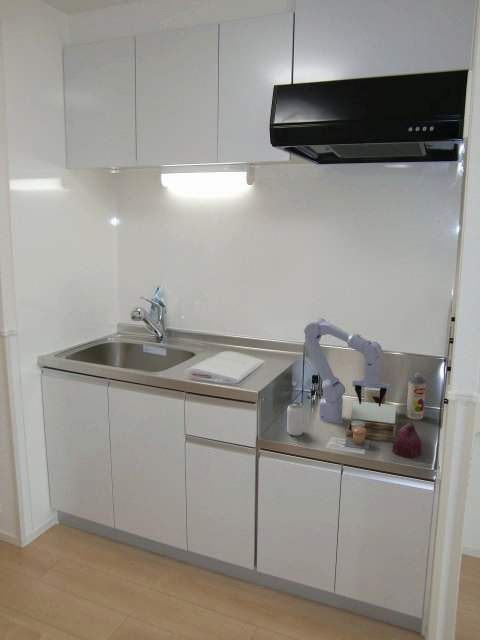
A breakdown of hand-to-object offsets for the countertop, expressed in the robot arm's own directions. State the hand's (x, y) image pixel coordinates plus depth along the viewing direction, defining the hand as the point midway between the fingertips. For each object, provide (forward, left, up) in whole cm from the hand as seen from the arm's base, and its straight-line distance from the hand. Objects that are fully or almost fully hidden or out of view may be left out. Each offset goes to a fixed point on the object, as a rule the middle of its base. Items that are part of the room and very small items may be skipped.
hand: (369, 404), depth 203 cm
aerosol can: (+18, +16, -11) cm, 26 cm away
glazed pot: (-4, -7, -10) cm, 13 cm away
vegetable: (+15, -17, -11) cm, 25 cm away
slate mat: (-3, -16, -10) cm, 19 cm away
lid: (+1, +5, -5) cm, 8 cm away
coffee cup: (+1, +17, -11) cm, 20 cm away
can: (-28, -13, -11) cm, 33 cm away
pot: (-3, -15, -10) cm, 19 cm away
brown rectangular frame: (+1, -1, -10) cm, 11 cm away
